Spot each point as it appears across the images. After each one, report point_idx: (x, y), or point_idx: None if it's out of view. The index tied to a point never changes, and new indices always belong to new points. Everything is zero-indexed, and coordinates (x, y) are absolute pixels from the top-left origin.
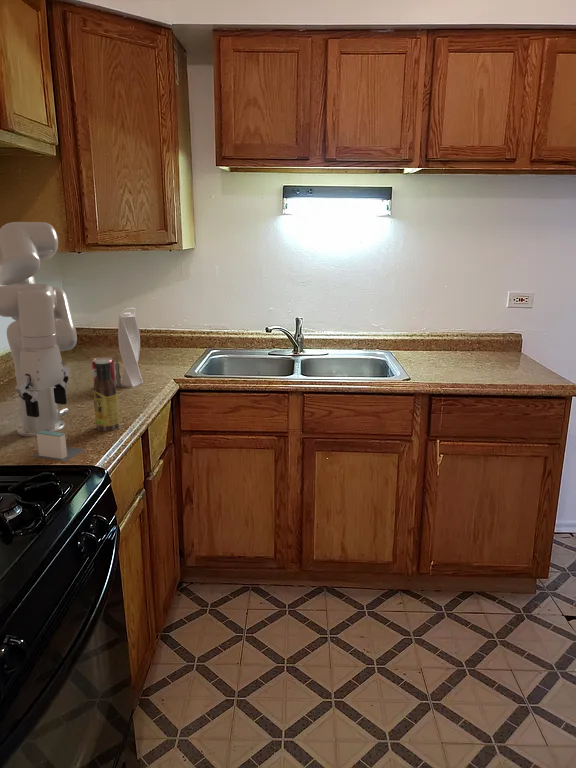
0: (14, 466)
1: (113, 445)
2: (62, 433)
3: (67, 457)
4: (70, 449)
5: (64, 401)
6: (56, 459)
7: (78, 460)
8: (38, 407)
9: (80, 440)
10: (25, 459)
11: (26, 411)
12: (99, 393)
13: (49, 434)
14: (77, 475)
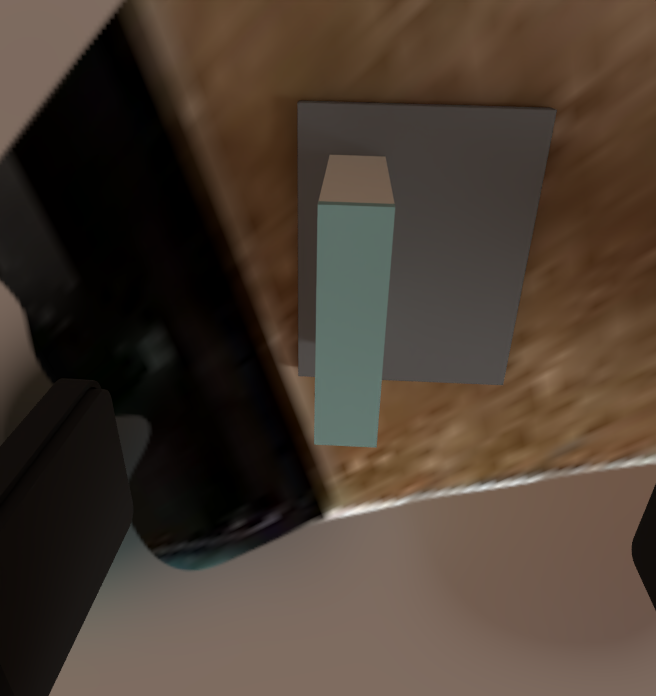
0: (139, 79)
1: (627, 463)
2: (365, 435)
3: None
4: (488, 295)
5: (648, 590)
6: (307, 315)
7: None
8: (83, 620)
9: None
10: (273, 60)
11: (30, 413)
12: None
13: (316, 351)
14: (199, 498)
